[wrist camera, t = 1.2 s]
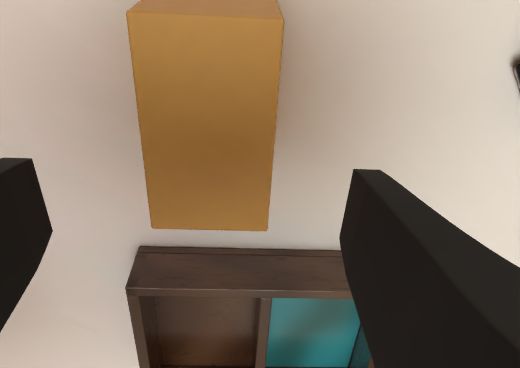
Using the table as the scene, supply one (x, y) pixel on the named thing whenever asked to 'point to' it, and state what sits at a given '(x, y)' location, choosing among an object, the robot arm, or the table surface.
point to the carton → (207, 109)
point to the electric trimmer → (517, 74)
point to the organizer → (244, 309)
